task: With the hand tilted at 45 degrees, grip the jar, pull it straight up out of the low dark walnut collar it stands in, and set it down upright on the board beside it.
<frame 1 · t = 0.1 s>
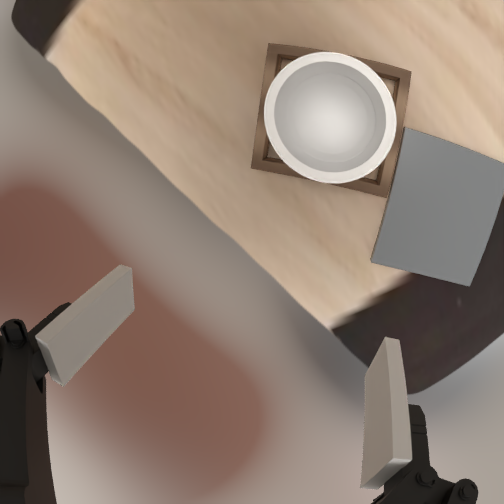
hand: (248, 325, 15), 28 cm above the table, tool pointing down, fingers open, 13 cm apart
board: (443, 211, 36), on the table
collar: (331, 117, 35), on the table
jar: (331, 117, 35), resting in collar
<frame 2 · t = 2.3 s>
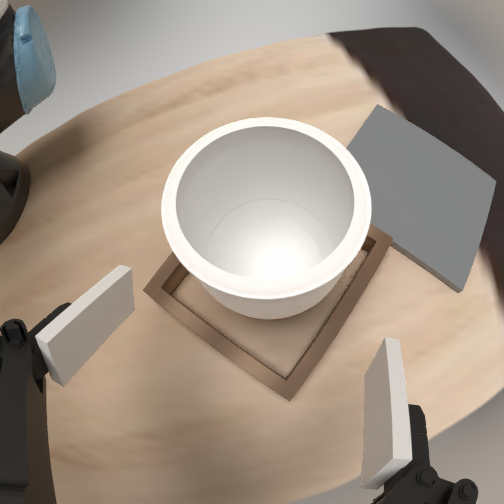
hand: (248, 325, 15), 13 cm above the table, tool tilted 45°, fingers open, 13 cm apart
board: (417, 188, 31), on the table
collar: (271, 274, 29), on the table
jar: (271, 275, 30), resting in collar
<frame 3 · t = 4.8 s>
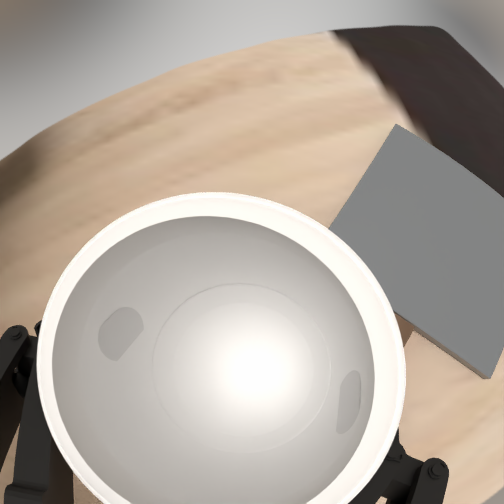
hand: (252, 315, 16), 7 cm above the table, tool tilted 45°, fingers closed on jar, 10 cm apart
board: (446, 242, 23), on the table
jar: (248, 368, 21), resting in collar, touching gripper
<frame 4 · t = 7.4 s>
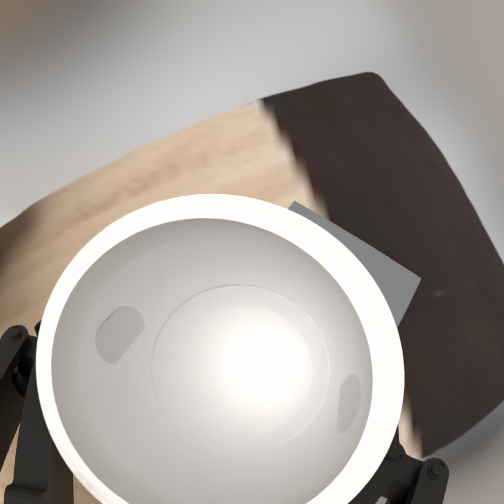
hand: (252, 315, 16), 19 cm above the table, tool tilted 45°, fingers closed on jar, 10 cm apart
board: (323, 298, 35), on the table
jar: (247, 368, 21), point 13 cm above the table, touching gripper
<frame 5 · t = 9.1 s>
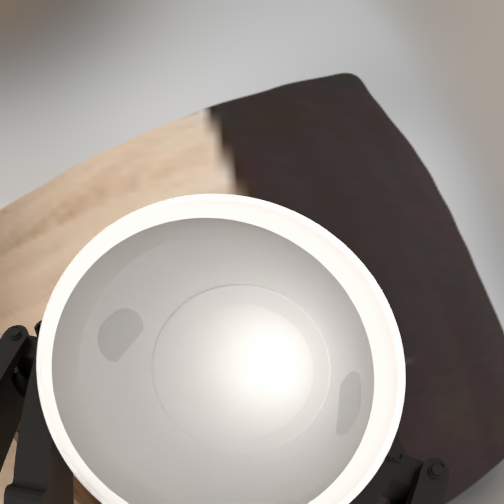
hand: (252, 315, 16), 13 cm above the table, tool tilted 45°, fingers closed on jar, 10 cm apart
collar: (92, 433, 26), on the table
jar: (247, 368, 21), point 7 cm above the table, touching gripper
when the fingers open (9 cm above the table, at t = 10.4 s): jar drops 1 cm, resting on board.
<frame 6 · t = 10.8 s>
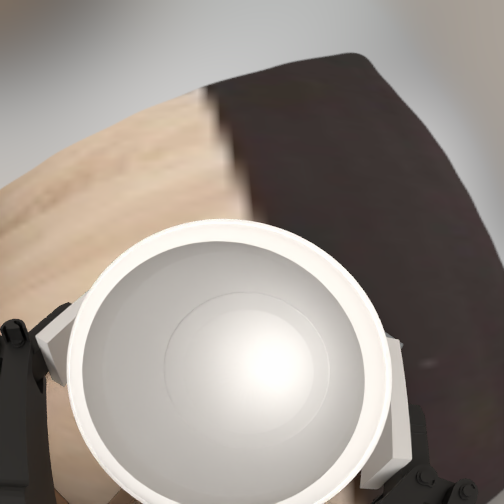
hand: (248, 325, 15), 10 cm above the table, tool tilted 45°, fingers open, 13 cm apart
collar: (73, 443, 22), on the table
jar: (252, 369, 23), point 1 cm above the table, touching board
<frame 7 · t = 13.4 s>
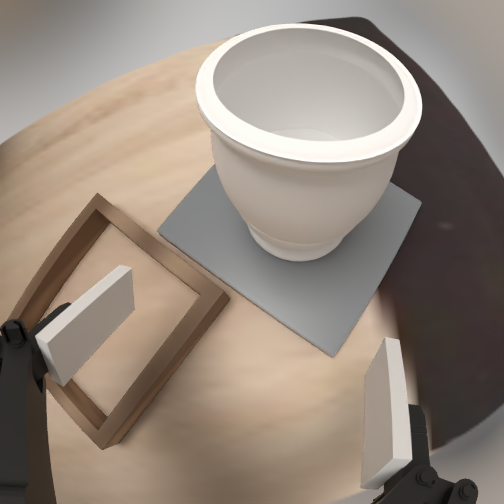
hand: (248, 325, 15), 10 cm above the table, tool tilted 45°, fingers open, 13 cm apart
board: (294, 218, 28), on the table
collar: (107, 319, 26), on the table
jar: (297, 216, 27), point 1 cm above the table, touching board
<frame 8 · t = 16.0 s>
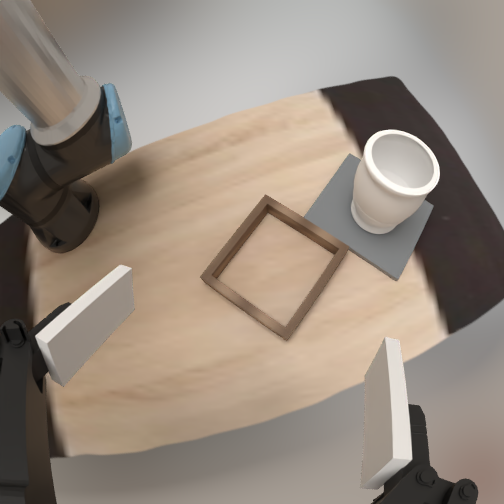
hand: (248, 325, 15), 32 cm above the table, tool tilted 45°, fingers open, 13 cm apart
board: (372, 213, 51), on the table
collar: (276, 267, 49), on the table
jar: (374, 212, 50), point 1 cm above the table, touching board
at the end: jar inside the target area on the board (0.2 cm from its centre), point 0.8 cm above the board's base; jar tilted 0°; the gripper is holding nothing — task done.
